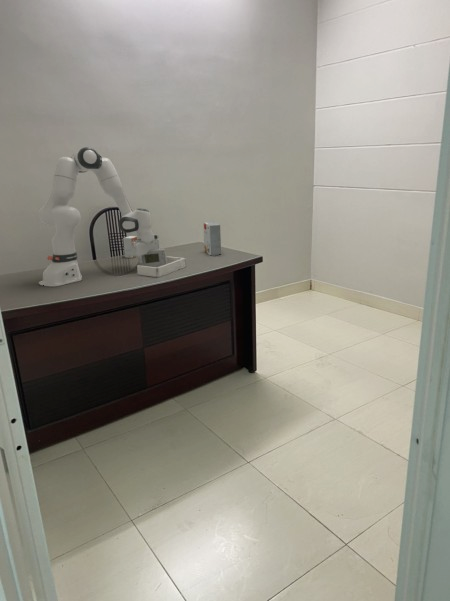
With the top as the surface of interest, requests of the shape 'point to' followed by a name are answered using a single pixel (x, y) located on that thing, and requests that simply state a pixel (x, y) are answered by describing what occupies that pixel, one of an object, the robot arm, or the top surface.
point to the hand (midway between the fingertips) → (146, 261)
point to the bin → (163, 267)
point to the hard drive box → (212, 238)
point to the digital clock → (154, 258)
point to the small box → (129, 246)
